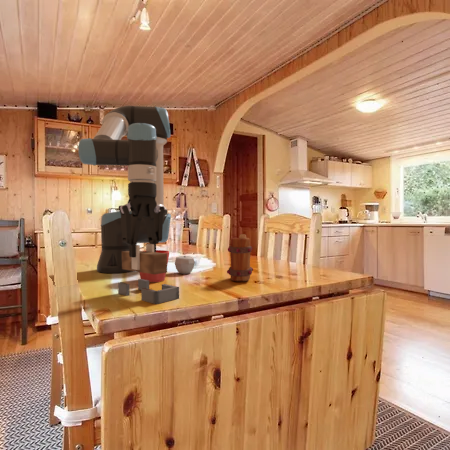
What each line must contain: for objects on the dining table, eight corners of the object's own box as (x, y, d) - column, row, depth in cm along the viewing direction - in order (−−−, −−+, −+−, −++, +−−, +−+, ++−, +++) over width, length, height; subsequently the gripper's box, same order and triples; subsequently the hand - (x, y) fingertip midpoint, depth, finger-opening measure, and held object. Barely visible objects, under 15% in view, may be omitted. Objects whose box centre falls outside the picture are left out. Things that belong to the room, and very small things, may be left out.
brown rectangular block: (122, 269, 95) (121, 251, 95) (134, 267, 98) (133, 250, 98) (154, 274, 85) (154, 254, 85) (167, 272, 88) (166, 253, 88)
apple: (178, 275, 120) (178, 257, 120) (171, 272, 127) (170, 255, 126) (199, 273, 124) (198, 256, 124) (190, 270, 131) (190, 254, 130)
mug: (250, 283, 106) (250, 236, 105) (225, 282, 107) (225, 236, 107) (255, 275, 120) (255, 233, 120) (233, 274, 122) (233, 233, 121)
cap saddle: (118, 293, 93) (118, 282, 93) (141, 288, 99) (141, 278, 99) (126, 295, 91) (126, 284, 91) (149, 290, 96) (149, 280, 96)
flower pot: (157, 276, 119) (157, 248, 119) (175, 280, 112) (175, 251, 111) (130, 280, 112) (130, 251, 112) (148, 285, 104) (147, 254, 104)
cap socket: (141, 300, 86) (141, 288, 86) (164, 294, 92) (164, 283, 92) (155, 304, 82) (155, 292, 82) (179, 298, 88) (179, 287, 88)
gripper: (122, 178, 82) (122, 273, 82) (175, 183, 95) (176, 266, 95) (106, 180, 87) (107, 270, 87) (159, 185, 100) (159, 263, 100)
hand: (143, 268), depth 91 cm, fingers closed on brown rectangular block, 4 cm apart
